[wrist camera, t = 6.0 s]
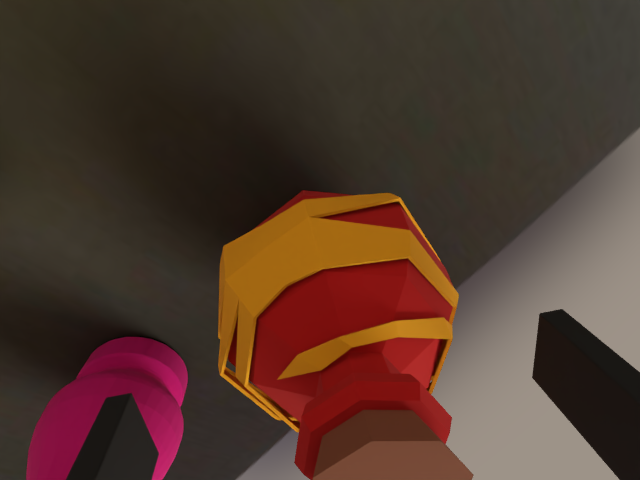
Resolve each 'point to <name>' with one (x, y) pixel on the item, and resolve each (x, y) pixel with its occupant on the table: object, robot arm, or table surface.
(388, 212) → the potion bottle
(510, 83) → the table surface
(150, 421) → the pepper mill
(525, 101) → the table surface
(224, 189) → the table surface
